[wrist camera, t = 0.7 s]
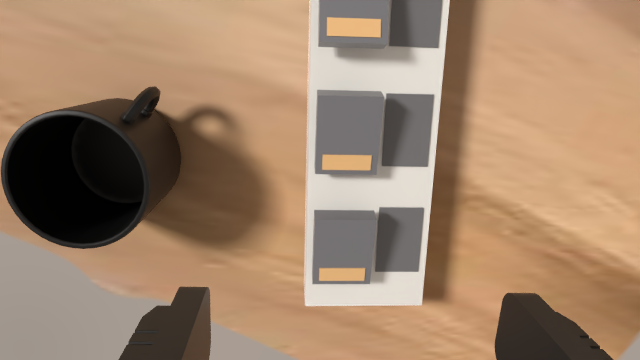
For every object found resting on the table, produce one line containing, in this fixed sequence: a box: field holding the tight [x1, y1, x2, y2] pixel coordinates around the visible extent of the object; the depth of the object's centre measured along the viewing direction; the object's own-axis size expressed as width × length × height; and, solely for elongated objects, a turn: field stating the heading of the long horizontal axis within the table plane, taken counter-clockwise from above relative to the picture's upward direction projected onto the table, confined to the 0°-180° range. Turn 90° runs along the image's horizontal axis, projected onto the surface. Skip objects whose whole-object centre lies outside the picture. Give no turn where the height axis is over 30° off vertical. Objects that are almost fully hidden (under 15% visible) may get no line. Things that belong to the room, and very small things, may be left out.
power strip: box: [304, 0, 450, 306], centre depth 37 cm, size 30×10×4 cm, turn 178°
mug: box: [1, 86, 181, 249], centre depth 34 cm, size 9×12×9 cm
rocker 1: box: [318, 0, 389, 49], centre depth 31 cm, size 6×5×2 cm
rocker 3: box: [312, 210, 377, 284], centre depth 36 cm, size 6×5×2 cm
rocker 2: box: [314, 90, 384, 175], centre depth 33 cm, size 6×5×2 cm
